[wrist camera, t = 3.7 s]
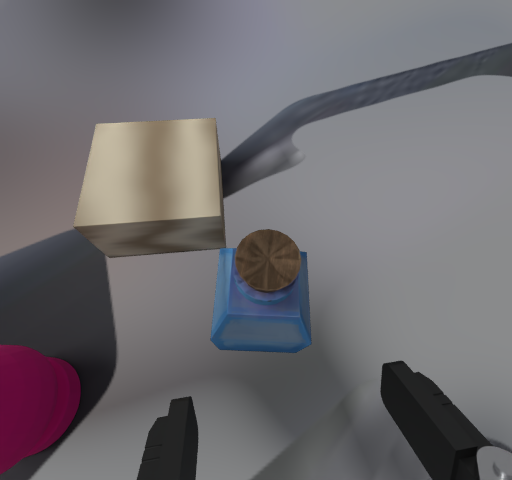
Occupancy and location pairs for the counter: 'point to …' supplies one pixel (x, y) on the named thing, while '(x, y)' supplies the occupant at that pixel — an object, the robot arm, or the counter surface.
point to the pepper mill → (33, 402)
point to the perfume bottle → (262, 296)
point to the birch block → (153, 188)
